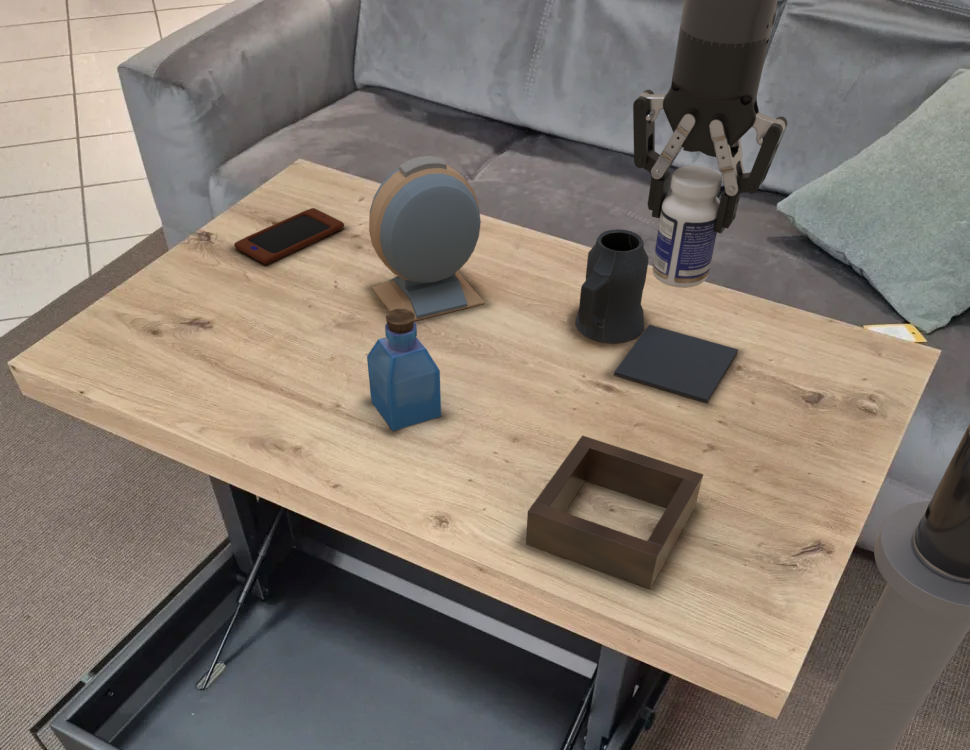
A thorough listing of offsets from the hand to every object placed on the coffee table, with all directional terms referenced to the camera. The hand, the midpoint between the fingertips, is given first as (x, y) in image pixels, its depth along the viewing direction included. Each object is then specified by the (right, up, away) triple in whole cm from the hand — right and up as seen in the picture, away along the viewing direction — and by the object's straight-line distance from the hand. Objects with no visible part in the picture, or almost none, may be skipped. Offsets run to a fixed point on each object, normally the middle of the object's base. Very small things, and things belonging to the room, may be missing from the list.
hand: (689, 221), depth 91 cm
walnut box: (-7, -29, +7) cm, 30 cm away
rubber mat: (+4, -6, +26) cm, 27 cm away
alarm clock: (-28, +6, +35) cm, 45 cm away
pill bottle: (0, -4, +4) cm, 6 cm away
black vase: (-4, 0, +30) cm, 31 cm away
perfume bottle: (-29, -14, +19) cm, 37 cm away
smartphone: (-48, +17, +44) cm, 68 cm away
